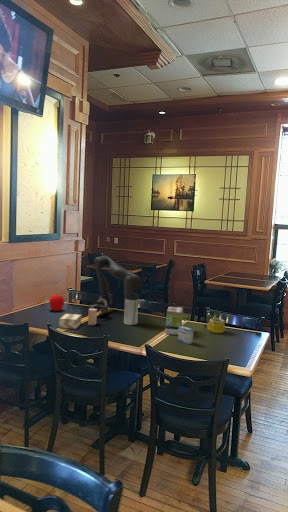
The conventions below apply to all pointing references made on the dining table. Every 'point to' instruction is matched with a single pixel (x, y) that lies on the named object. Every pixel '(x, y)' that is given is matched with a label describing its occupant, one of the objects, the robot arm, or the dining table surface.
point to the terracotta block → (92, 316)
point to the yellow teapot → (216, 325)
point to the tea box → (173, 320)
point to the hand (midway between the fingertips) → (96, 310)
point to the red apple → (56, 302)
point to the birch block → (70, 321)
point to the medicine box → (185, 335)
